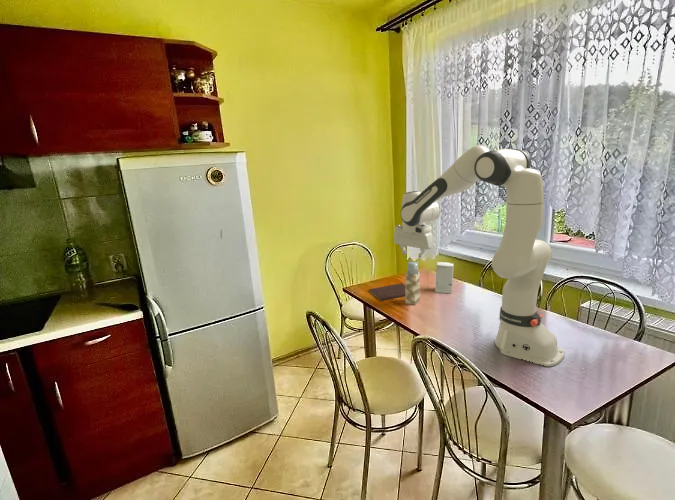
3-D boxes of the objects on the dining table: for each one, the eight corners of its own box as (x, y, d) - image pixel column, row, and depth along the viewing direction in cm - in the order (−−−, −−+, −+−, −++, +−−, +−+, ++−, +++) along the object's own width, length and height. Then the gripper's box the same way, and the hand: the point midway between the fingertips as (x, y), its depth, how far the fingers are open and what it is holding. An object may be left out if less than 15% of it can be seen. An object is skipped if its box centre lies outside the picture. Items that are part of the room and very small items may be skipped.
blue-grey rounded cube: (420, 272, 174) (420, 262, 173) (413, 275, 171) (413, 265, 170) (411, 270, 178) (411, 260, 177) (405, 273, 175) (405, 263, 174)
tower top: (419, 282, 177) (419, 272, 175) (415, 285, 173) (415, 275, 171) (409, 280, 179) (409, 270, 178) (405, 283, 175) (405, 274, 174)
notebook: (368, 291, 196) (368, 288, 195) (401, 285, 202) (401, 282, 201) (381, 302, 182) (380, 298, 182) (416, 295, 188) (416, 291, 188)
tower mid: (420, 292, 177) (420, 283, 175) (413, 295, 174) (413, 285, 173) (412, 290, 181) (412, 280, 179) (405, 292, 178) (405, 283, 177)
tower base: (419, 301, 179) (419, 292, 178) (414, 305, 175) (414, 295, 174) (410, 299, 182) (410, 290, 181) (405, 303, 178) (405, 293, 177)
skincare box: (435, 292, 189) (435, 264, 185) (436, 288, 194) (436, 261, 190) (452, 293, 186) (453, 265, 182) (453, 289, 191) (453, 262, 187)
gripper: (390, 225, 175) (391, 253, 178) (426, 230, 159) (426, 260, 163) (399, 223, 178) (399, 250, 182) (435, 227, 163) (435, 257, 167)
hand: (412, 255), depth 172 cm, fingers open, 8 cm apart
